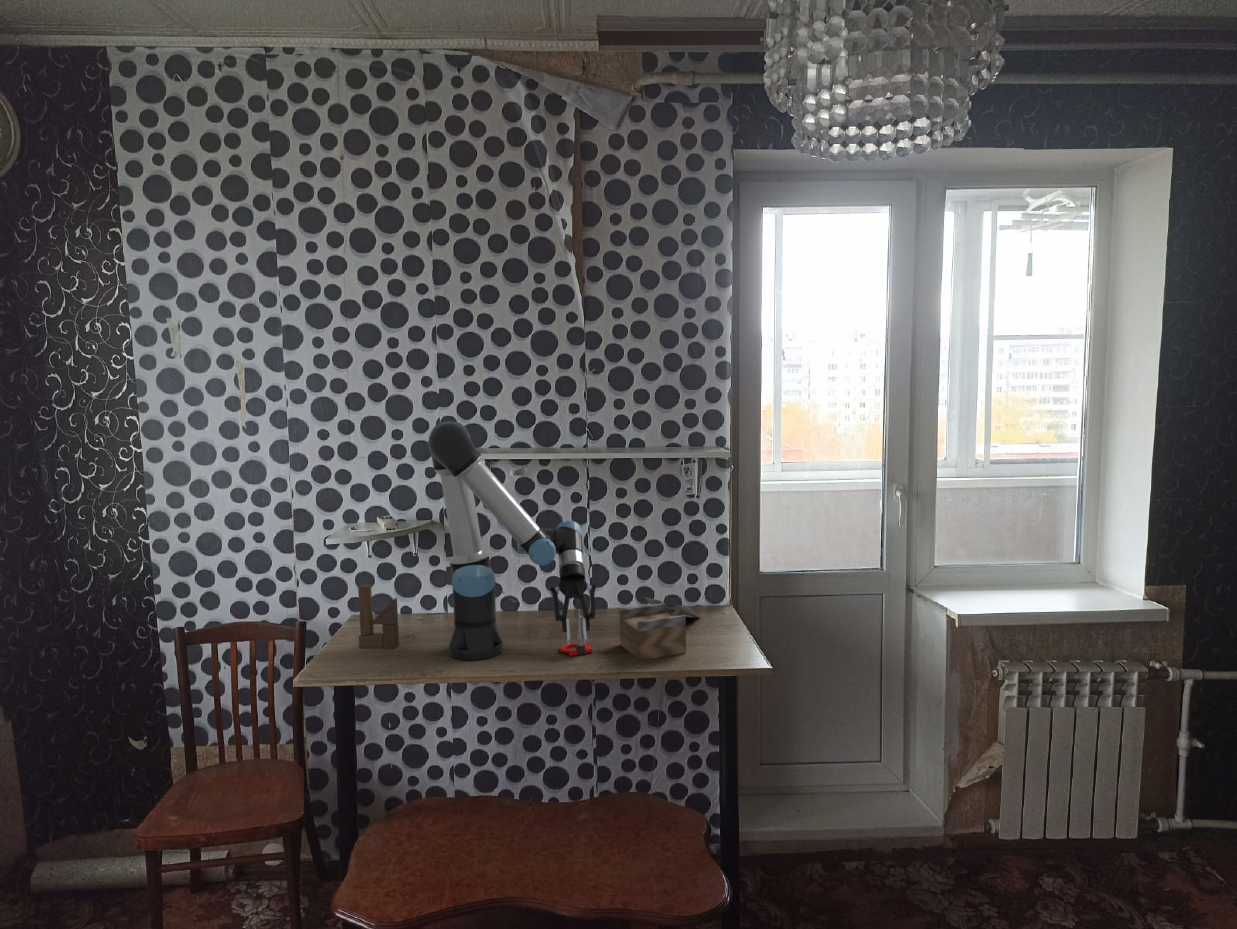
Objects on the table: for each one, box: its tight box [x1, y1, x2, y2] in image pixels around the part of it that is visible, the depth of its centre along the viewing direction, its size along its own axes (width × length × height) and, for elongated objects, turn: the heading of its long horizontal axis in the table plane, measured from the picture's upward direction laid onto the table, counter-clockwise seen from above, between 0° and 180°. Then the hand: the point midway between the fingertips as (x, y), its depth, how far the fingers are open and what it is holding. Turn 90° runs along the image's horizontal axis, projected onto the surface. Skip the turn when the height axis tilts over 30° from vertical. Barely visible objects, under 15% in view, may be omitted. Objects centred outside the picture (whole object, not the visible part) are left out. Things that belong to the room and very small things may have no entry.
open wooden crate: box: [619, 602, 687, 661], centre depth 221 cm, size 14×14×10 cm
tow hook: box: [559, 607, 593, 657], centre depth 221 cm, size 8×13×9 cm
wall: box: [643, 596, 701, 619], centre depth 245 cm, size 16×9×15 cm
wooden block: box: [357, 584, 400, 649], centre depth 227 cm, size 4×11×18 cm, turn 86°
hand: (577, 641), depth 218 cm, fingers open, 4 cm apart
